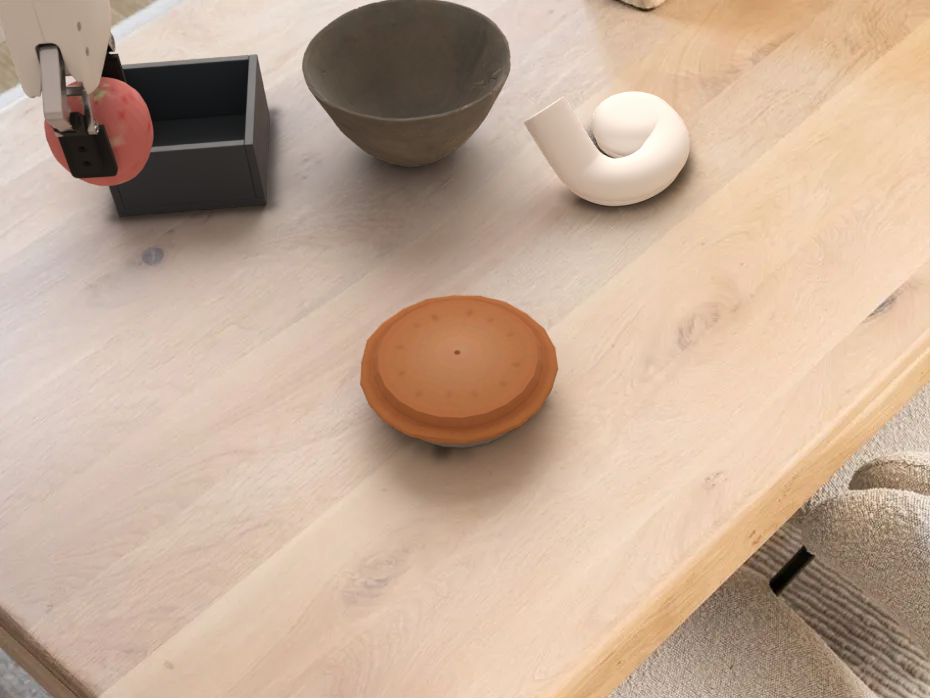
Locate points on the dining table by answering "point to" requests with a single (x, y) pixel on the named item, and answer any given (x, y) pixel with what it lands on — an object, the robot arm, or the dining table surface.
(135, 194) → the bin
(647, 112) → the sculpture
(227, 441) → the dining table surface
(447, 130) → the bowl
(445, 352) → the pie
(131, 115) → the apple
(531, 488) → the dining table surface
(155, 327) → the dining table surface
